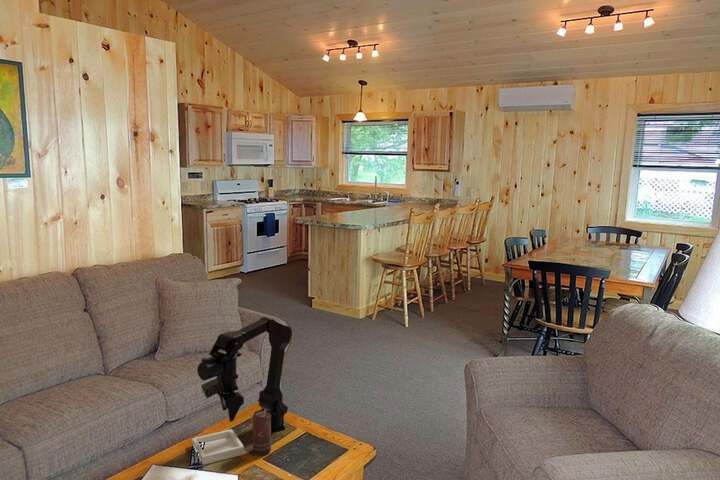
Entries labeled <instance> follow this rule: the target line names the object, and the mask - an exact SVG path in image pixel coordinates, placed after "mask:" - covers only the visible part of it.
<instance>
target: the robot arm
mask: <svg viewBox="0 0 720 480" xmlns="http://www.w3.org/2000/svg"><path fill="white" fill-rule="evenodd" d="M263 333H267V334H268V341H269V346H270V347H271V348H270V357H269V364H268V369H267V370H268V372H267V376H266V377H267V378H266V385H265V387H264V389H262V390H260V391H259V393H258V395H259V397H258V400H257V402H258V406H259V407H260V408H261V409H260V410H267V411H269V412H270V414H271V433H274V432H275V433H277V432H279V431H284V430H286V427H285V422H284V421H285V419H284V417H285V414H287V413H288V409H289V407H288V406H287V405H286V404H285V403H284V402H283V397H284V396H283V393H282V390H281V386H280V385H281V382H282V381H281V379H282V372H283V365H284V359H285V358H284V357H285V350H286V348H287V347H288V346H289V344H290V343H291V340H292V335H293V330H292V328H291V327H290V326H289V325H284V324H281V323H279V322H278V321H276V320H275V319H274V318H271V317H267V316H262V317H261V318H259V319H258V320H256V321H254V322H252V323H250V324H248V325H246V326H245V327H243V328H240V329H237V330H233V331H227V332H223V333H220V334H219V335H218V336H217V339H216V340H215V342H214V344H213V346H212V348H211V350H210V352H209V354H208V355H209V357H202V358H201V362H200V363H199V364H198V366H197V370H196V371H197V375H198V377H199V379H201V380H202V381H206V382H205V383H203V384H202V385H201V390H202V392H203V395H204V396H205V398H206V399H208V398H209V399H210V398H211V397H213V396H215V395H216V394H217V395H218V397H219V400H220V404H221V408H222V411H227V414H228V420H229V422H234V421H235V420H234V419H235V418H236V416H237V414H238V411H239V410H240V408H241V406H243V405H244V404H245V397H244V396H243V395H242V393H241V392H239V391H238V390H239V386H238V384H237V379H239V375H238V372H237V371H238V370H237V358H238V357H242V353H241V352H239V351H240V350H242V348H243V346H244V345H245V343H247V342H248V341H250V340H253V339H254V338H257V337H258V336H260V335H261V334H263ZM213 378H214V379H213ZM207 380H209V381H207ZM235 391H236V392H235Z"/></svg>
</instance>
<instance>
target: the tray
mask: <svg viewBox="0 0 720 480" xmlns="http://www.w3.org/2000/svg"><path fill="white" fill-rule="evenodd" d="M191 441H192V446H193V445H194V446H195V448H196V450H197V452H198V454H199V457H200V459H201V461H200V463H201V462H202V463H201V465H202V466H205V465H209V464H212V463H215V462H220V461H224V460H227V459H232V458H234V457H235V458H236V457H239V456H243V455H245V446H244V444H243V443H242V441H241V440H240V439H239V438H238V436H237V435H236V432H235V431H234V430H233V429H228V430H226V429H225V430H223V431H219V432H213V433H209V434H205V435H201V436H197V437H193V438H192V440H191ZM199 442H205V445H204V449H203V451H202V449H201V447H200V445H199ZM199 457H198V458H199ZM200 459H199V460H200Z"/></svg>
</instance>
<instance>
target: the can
mask: <svg viewBox="0 0 720 480" xmlns="http://www.w3.org/2000/svg"><path fill="white" fill-rule="evenodd" d="M271 451H272V432H271V414H270V412H269V411H267V410H262V409H259V410H258V409H257V410H256V411H254V413H253V415H252V452H253V454H254V455H255V456H259V457H263V456H267V455H268V454H270V453H271Z"/></svg>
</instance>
